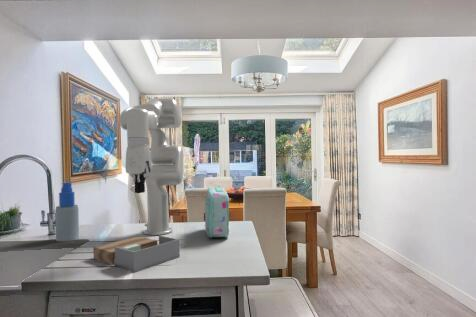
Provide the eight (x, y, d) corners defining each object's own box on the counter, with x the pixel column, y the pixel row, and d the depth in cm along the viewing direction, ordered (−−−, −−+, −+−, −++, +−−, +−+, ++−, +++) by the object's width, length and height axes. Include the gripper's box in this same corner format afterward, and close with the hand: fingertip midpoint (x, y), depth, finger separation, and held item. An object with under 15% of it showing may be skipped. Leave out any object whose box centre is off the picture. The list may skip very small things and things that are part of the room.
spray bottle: (59, 242, 130) (58, 183, 131) (53, 239, 137) (52, 182, 137) (81, 238, 137) (80, 182, 137) (75, 235, 143) (74, 181, 143)
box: (114, 265, 99) (113, 246, 99) (159, 251, 114) (159, 235, 114) (134, 272, 93) (133, 252, 93) (179, 256, 107) (179, 239, 107)
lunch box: (203, 228, 153) (202, 184, 153) (224, 226, 154) (223, 184, 155) (206, 241, 126) (205, 189, 127) (231, 240, 128) (230, 188, 128)
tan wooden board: (93, 258, 107) (93, 246, 107) (138, 246, 122) (138, 236, 122) (112, 264, 100) (112, 252, 100) (157, 251, 114) (157, 240, 114)
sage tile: (122, 247, 100) (127, 248, 98) (136, 243, 104) (140, 245, 102) (122, 262, 100) (127, 264, 98) (136, 258, 104) (140, 260, 102)
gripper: (117, 143, 115) (119, 192, 115) (141, 142, 105) (143, 195, 106) (135, 143, 120) (136, 190, 121) (159, 142, 111) (161, 192, 112)
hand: (139, 192), depth 114 cm, fingers closed
